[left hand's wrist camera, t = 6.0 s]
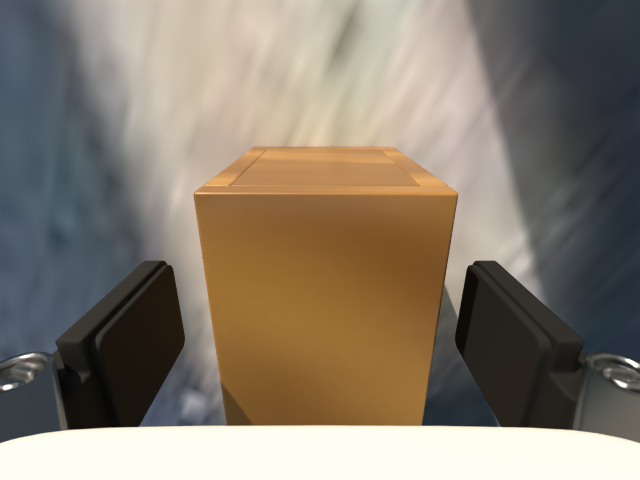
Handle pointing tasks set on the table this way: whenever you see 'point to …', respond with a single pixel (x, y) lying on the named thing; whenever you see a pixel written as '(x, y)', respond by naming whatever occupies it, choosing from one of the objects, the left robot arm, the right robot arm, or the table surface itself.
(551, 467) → the left robot arm
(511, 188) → the table surface
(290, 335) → the cabinet
